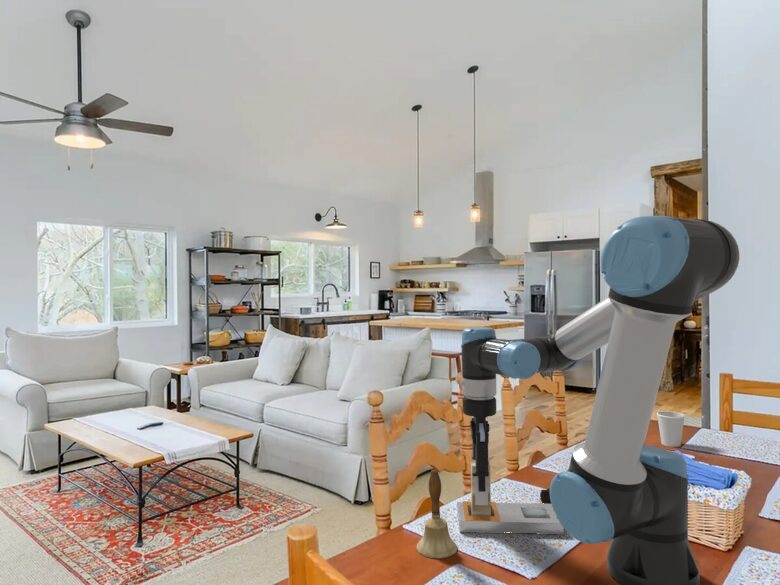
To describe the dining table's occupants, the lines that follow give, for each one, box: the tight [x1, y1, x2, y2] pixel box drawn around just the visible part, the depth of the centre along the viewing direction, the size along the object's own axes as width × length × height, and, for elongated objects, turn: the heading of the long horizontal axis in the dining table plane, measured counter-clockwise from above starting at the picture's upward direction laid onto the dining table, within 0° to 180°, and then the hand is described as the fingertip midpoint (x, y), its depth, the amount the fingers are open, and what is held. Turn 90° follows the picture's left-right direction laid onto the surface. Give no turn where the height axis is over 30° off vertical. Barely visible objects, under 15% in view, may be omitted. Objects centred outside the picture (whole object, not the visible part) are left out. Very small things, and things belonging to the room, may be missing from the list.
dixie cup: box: [656, 410, 686, 448], centre depth 173 cm, size 8×8×10 cm
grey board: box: [456, 500, 565, 535], centre depth 117 cm, size 10×22×3 cm, turn 86°
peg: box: [470, 459, 492, 516], centre depth 118 cm, size 4×4×12 cm
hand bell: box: [415, 468, 458, 559], centre depth 106 cm, size 8×8×16 cm
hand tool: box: [539, 487, 551, 504], centre depth 132 cm, size 19×4×5 cm, turn 129°
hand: (480, 499), depth 118 cm, fingers closed on peg, 4 cm apart
